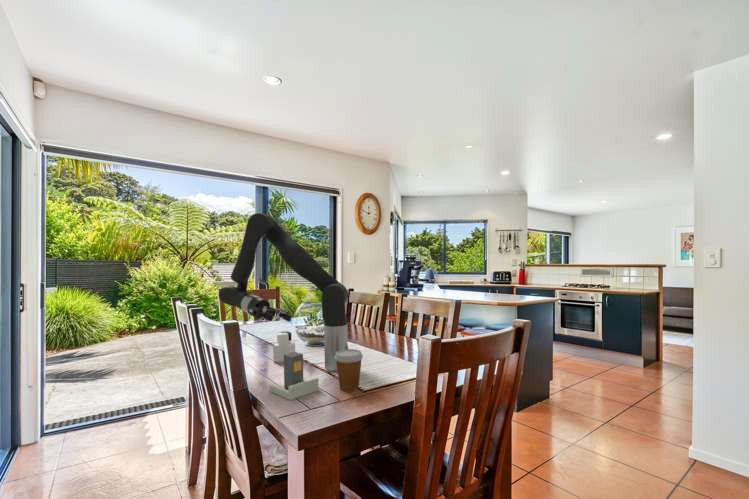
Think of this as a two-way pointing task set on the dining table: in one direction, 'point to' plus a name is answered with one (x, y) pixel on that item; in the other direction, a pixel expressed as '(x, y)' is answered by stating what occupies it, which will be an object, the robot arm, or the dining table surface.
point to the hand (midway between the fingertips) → (281, 318)
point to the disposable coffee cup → (348, 369)
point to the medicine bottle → (283, 346)
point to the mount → (297, 389)
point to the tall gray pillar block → (293, 369)
